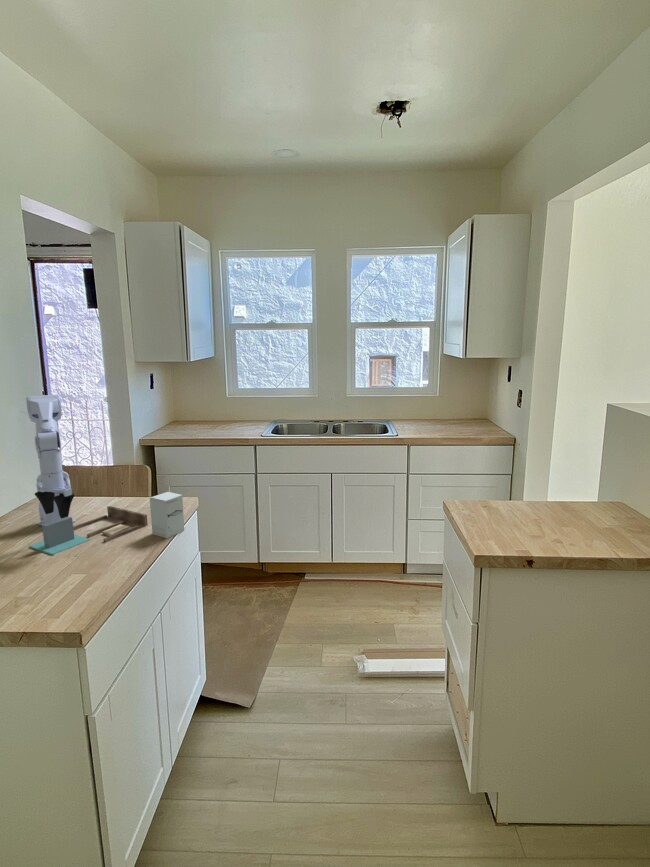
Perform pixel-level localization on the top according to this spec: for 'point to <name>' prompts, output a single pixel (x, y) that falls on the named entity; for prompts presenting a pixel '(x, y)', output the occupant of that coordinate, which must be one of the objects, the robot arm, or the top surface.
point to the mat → (60, 547)
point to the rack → (121, 515)
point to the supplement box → (167, 514)
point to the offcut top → (115, 530)
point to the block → (58, 532)
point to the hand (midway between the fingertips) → (56, 515)
